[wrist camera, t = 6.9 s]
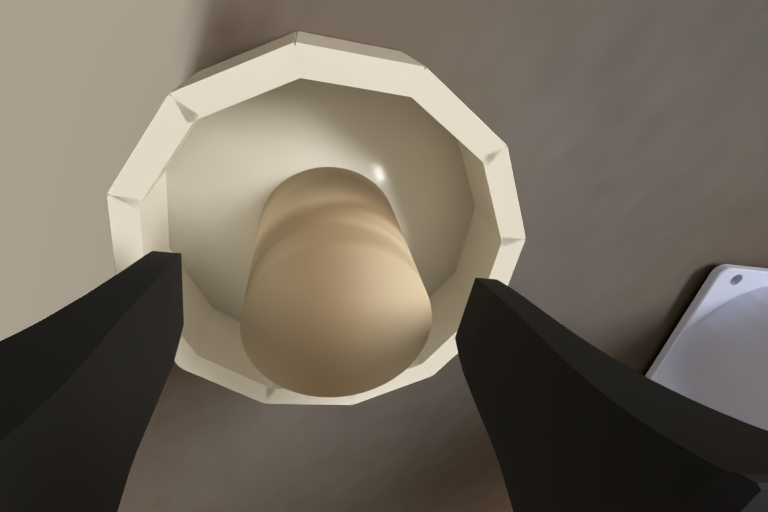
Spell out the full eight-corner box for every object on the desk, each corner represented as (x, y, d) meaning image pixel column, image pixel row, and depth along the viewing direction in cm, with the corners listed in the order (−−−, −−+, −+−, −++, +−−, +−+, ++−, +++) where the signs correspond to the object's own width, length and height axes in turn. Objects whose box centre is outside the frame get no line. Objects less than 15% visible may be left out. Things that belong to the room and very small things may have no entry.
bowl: (529, 76, 14) (580, 96, 11) (440, 350, 19) (461, 406, 16) (134, -1, 11) (83, 1, 9) (158, 338, 16) (131, 401, 14)
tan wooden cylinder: (405, 173, 14) (449, 251, 10) (384, 289, 16) (413, 396, 12) (259, 160, 13) (238, 240, 9) (258, 285, 15) (240, 398, 11)
